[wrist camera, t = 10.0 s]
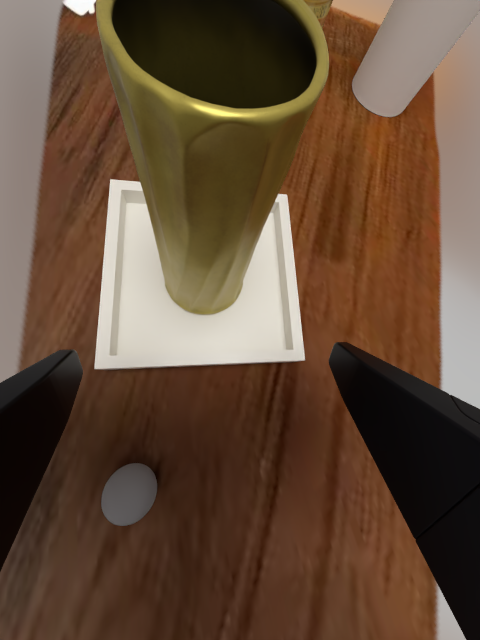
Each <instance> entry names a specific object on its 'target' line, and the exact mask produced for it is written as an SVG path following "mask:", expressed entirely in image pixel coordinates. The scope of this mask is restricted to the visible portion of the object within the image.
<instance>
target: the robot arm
mask: <svg viewBox="0 0 480 640" xmlns="http://www.w3.org/2000/svg"><path fill="white" fill-rule="evenodd" d="M329 365H330V368H331V371H332V373H333V376H334V378H335V381H336V383H337V386H338V388H339V391H340V394H341V396H342V398H343V400H344V403H345V405H346V407H347V409H348V411H349V412H350V414H351V416H352V418H353V420H354V422H355V424H356V426H357V428H358V430H359V432H360V434H361V436H362V438H363V440H364V442H365V444H366V445H367V447H368V449H369V451H370V453H371V455H372V457H373V459H374V461H375V463H376V465H377V467H378V469H379V471H380V473H381V475H382V476H383V478H384V480H385V482H386V484H387V486H388V488H389V490H390V492H391V494H392V496H393V498H394V500H395V502H396V504H397V506H398V508H399V509H400V511H401V513H402V515H403V517H404V519H405V521H406V523H407V525H408V527H409V529H410V531H411V533H412V535H413V537H414V538H415V539H416V543H417V545H418V547H419V549H420V551H421V553H422V554H423V556H424V558H425V560H426V562H427V564H428V566H429V568H430V570H431V572H432V574H433V576H434V578H435V580H436V582H437V584H438V586H439V587H440V589H441V591H442V593H443V595H444V597H445V599H446V601H447V603H448V605H449V607H450V609H451V611H452V613H453V615H454V617H455V619H456V620H457V622H458V624H459V626H460V628H461V630H462V632H463V634H464V636H465V638H466V640H480V409H478V408H476V407H474V406H472V405H470V404H468V403H466V402H464V401H462V400H460V399H458V398H456V397H454V396H452V395H449V394H448V393H446V392H444V391H442V390H440V389H438V388H436V387H434V386H432V385H430V384H428V383H426V382H424V381H422V380H421V379H419V378H417V377H415V376H413V375H411V374H409V373H407V372H405V371H403V370H401V369H399V368H397V367H395V366H393V365H391V364H389V363H387V362H385V361H383V360H381V359H379V358H377V357H375V356H373V355H371V354H369V353H367V352H365V351H363V350H361V349H359V348H357V347H355V346H353V345H351V344H349V343H347V342H337V343H335V344H334V346H333V349H332V352H331V355H330V358H329ZM82 375H83V369H82V366H81V363H80V360H79V357H78V354H77V352H76V351H75V350H59V351H57V352H55V353H53V354H52V355H50V356H48V357H46V358H44V359H43V360H41V361H39V362H37V363H35V364H34V365H32V366H30V367H28V368H26V369H24V370H23V371H21V372H19V373H17V374H15V375H14V376H12V377H10V378H8V379H6V380H5V381H3V382H1V383H0V571H1V569H2V567H3V564H4V562H5V560H6V558H7V555H8V553H9V551H10V549H11V547H12V544H13V542H14V540H15V538H16V535H17V533H18V531H19V529H20V527H21V524H22V522H23V520H24V518H25V515H26V513H27V511H28V509H29V507H30V504H31V502H32V500H33V498H34V495H35V493H36V491H37V489H38V487H39V484H40V482H41V480H42V478H43V475H44V473H45V471H46V469H47V467H48V464H49V462H50V460H51V458H52V455H53V453H54V451H55V449H56V447H57V444H58V442H59V440H60V438H61V435H62V433H63V431H64V429H65V426H66V424H67V422H68V419H69V416H70V413H71V410H72V407H73V404H74V401H75V398H76V395H77V391H78V388H79V385H80V382H81V379H82Z"/></svg>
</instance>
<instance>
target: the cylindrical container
mask: <svg viewBox="0 0 480 640" xmlns="http://www.w3.org/2000/svg"><path fill="white" fill-rule="evenodd" d="M479 12H480V0H394V1H393V3H392V5H391V7H390V9H389V11H388V13H387V15H386V17H385V18H384V21H383V22H382V24H381V26H380V28H379V30H378V32H377V34H376V36H375V38H374V40H373V42H372V43H371V45H370V47H369V49H368V51H367V53H366V55H365V57H364V59H363V61H362V63H361V65H360V66H359V68H358V70H357V72H356V74H355V76H354V78H353V81H352V89H353V92H354V95H355V96H356V98H357V100H358V101H359V102H360V103H361V104H362V105H363V106H364V107H365V108H366V109H368V110H369V111H371V112H373V113H375V114H377V115H380V116H384V117H393V116H397V115H399V114H400V113H402V112H403V110H404V109H405V108H406V107H407V105H408V104H409V103H410V101H411V100H412V99H413V97H414V96H415V95H416V94H417V92H418V91H419V90H420V88H421V87H422V86H423V85H424V83H425V82H426V81H427V79H428V78H429V77H430V75H431V74H432V73H433V72H434V70H435V69H436V68H437V66H438V65H439V63H440V62H441V61H442V60H443V59H444V57H445V56H446V55H447V53H448V52H449V51H450V50H451V48H452V47H453V46H454V44H455V43H456V42H457V40H458V39H459V38H460V37H461V35H462V34H463V33H464V31H465V30H466V29H467V27H468V26H469V25H470V24H471V22H472V21H473V20H474V18H475V17H476V16H477V15H478V13H479Z"/></svg>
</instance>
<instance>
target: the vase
mask: <svg viewBox="0 0 480 640" xmlns="http://www.w3.org/2000/svg"><path fill="white" fill-rule="evenodd" d="M96 15H97V25H98V29H99V34H100V38H101V43H102V48H103V53H104V57H105V61H106V66H107V69H108V73H109V76H110V79H111V82H112V85H113V89H114V92H115V95H116V98H117V102H118V105H119V109H120V112H121V116H122V119H123V123H124V127H125V130H126V134H127V137H128V141H129V144H130V148H131V151H132V154H133V158H134V161H135V165H136V169H137V173H138V176H139V180H140V183H141V186H142V190H143V193H144V197H145V201H146V205H147V208H148V212H149V216H150V220H151V224H152V228H153V232H154V236H155V241H156V245H157V249H158V253H159V258H160V262H161V267H162V271H163V275H164V279H165V287H166V290H167V292H168V294H169V295H170V297H171V298H172V300H173V301H174V302H175V303H176V304H177V305H179V306H180V307H181V308H183V309H185V310H186V311H189V312H191V313H195V314H215V313H218V312H221V311H223V310H225V309H227V308H228V307H230V306H231V305H232V304H233V303H234V302H235V301H236V300H237V298H238V296H239V295H240V292H241V290H242V287H243V279H244V277H245V274H246V272H247V269H248V267H249V264H250V261H251V259H252V256H253V253H254V250H255V247H256V245H257V243H258V241H259V238H260V235H261V233H262V230H263V227H264V225H265V223H266V221H267V218H268V216H269V214H270V212H271V209H272V207H273V205H274V203H275V200H276V198H277V196H278V193H279V191H280V189H281V186H282V184H283V182H284V179H285V177H286V175H287V173H288V170H289V168H290V166H291V163H292V161H293V158H294V155H295V152H296V149H297V146H298V143H299V140H300V137H301V135H302V133H303V130H304V128H305V126H306V123H307V121H308V119H309V117H310V115H311V113H312V111H313V109H314V107H315V105H316V103H317V101H318V99H319V97H320V95H321V93H322V90H323V88H324V86H325V83H326V80H327V77H328V69H329V54H328V47H327V43H326V39H325V36H324V33H323V30H322V28H321V25H320V23H319V21H318V19H317V18H316V16H315V14H314V13H313V12H312V10H311V9H310V8H309V6H308V5H307V4H306V3H305V1H304V0H96Z"/></svg>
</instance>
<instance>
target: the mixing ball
mask: <svg viewBox="0 0 480 640" xmlns="http://www.w3.org/2000/svg"><path fill="white" fill-rule="evenodd" d="M156 494H157V480H156V477H155V474H154V473H153V471H152V470H151V469H150V468H149V467H148V466H146V465H144V464H140V463H131V464H128V465H125V466H123V467H121V468H120V469H118V470H117V471H116V472H115V473H114V474H113V475H112V476H111V477H110V478H109V480H108V481H107V483H106V485H105V487H104V490H103V493H102V499H101V506H102V511H103V513H104V515H105V517H106V518H107V520H108V521H110V522H111V523H113V524H115V525H119V526H126V525H130V524H133V523H135V522H137V521H139V520H140V519H141V518H143V517H144V516H145V515H146V514H147V512H148V511H149V510H150V508H151V507H152V505H153V503H154V501H155V498H156Z"/></svg>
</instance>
